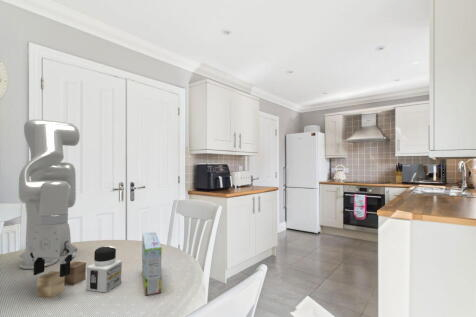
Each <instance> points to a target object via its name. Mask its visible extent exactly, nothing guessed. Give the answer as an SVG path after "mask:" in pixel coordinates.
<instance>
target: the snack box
mask: <svg viewBox="0 0 476 317" xmlns="http://www.w3.org/2000/svg"><path fill="white" fill-rule="evenodd" d="M141 242H142V248H141V249H142V250H141V251H142V254H141V263H142V266H141V267H142V268H141V269H142V280H143V281H142V282H143V290H144V296H145V297H146V296H150V295H151V296H152V295H156V294H161V293H162V250H163V248H162V245H161V243H160V240H159V237H158V235H157V233H156V231H151V232H143V233H142V241H141Z"/></svg>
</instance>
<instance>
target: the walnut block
mask: <svg viewBox="0 0 476 317" xmlns="http://www.w3.org/2000/svg"><path fill="white" fill-rule="evenodd" d="M86 276H87V262H83V261H75V260H74V261H70V274H68V275H66V276H65V279H64V285H67V286H76V285H78V284H79V283H81V282H83V281H85V280H86Z"/></svg>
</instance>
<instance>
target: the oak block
mask: <svg viewBox="0 0 476 317" xmlns="http://www.w3.org/2000/svg"><path fill="white" fill-rule="evenodd" d="M36 279H37V283H36V297H37V298H44V299H52V298H54V297H56V296H57V295H59V294H61V293H63V292H64V291H65V284H64V279H65V276H64V277H60V271H55V270H52V271H49V272H47V273H44V274H42V275H39V276H37V278H36Z"/></svg>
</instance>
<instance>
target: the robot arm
mask: <svg viewBox="0 0 476 317" xmlns="http://www.w3.org/2000/svg"><path fill="white" fill-rule="evenodd" d="M79 131H80V130H79V129H78V127H77V126H76V125H75V124H74V123H71V122H65V121H64V122H63V121H56V120H55V121H54V120H47V119H29V120H26V121H25V123H24V125H23V134H24V137H25V141H26V143H27V145H28V148H29V152H30V160H28V162H26V164H25V165H24V166H23V167H22V169H21V170H20V173H19V176H18V199H19V201H20V202H21V203H23V204H24V205H25V210H26V211H25V213H26V229H25V230H26V231H25V246H24V247H25V251H23V252H22V254H20V255H18V257H19V258H20V259H22V261H21V262H20V263H19V268H20V269H23V270H33V274H32V275H33V276H38V275H40V274H42V273H44V272H45V269H46V268H45V267H49V266H51V265H55V264H56V263H57V262H59V260H60V262H61V263H60V264H59V272H60V277H64V276H66V275H68V274H70V263H71V262H73V259H74V258H75V257H76V254H77V253H78V247H76V246H75V245H74V244H72V242H71V241H72V240H71V239H72V238H71V229H70V223H69V209H70V208H72V207H74V206H75V204H76V199H77V198H76V197H77V195H76V194H77V190H76V189H77V188H76V185H77V184H76V183H77V180H76V174H77V173H76V168H75V166H74V165H73V163H69V162H63V161H64V147H63V146H71V147H73V146H75V147H76V146H77V145H78V144H79V143H80V132H79Z"/></svg>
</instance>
